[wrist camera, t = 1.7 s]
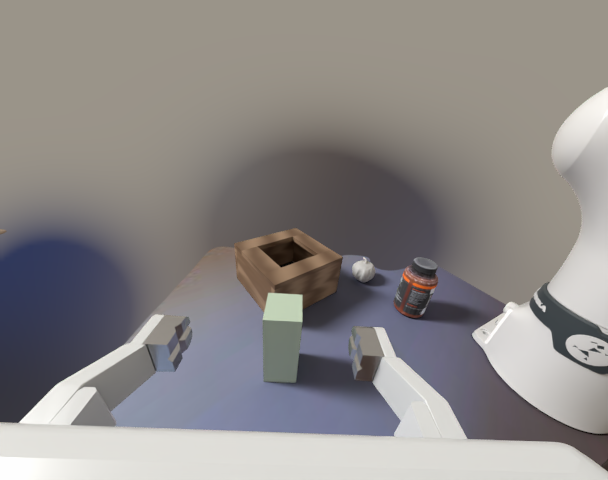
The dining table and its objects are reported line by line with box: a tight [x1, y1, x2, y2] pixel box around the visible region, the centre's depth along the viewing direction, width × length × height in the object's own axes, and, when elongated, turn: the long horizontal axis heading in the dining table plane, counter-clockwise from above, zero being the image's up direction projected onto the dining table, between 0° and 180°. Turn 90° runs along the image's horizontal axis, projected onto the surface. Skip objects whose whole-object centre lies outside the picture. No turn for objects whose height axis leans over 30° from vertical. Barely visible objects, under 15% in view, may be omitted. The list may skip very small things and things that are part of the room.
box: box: [234, 228, 343, 312], centre depth 46 cm, size 16×16×9 cm
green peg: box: [263, 293, 302, 383], centre depth 29 cm, size 4×4×12 cm
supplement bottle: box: [394, 258, 438, 318], centre depth 42 cm, size 6×6×11 cm
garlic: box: [352, 257, 375, 282], centre depth 52 cm, size 6×5×5 cm
